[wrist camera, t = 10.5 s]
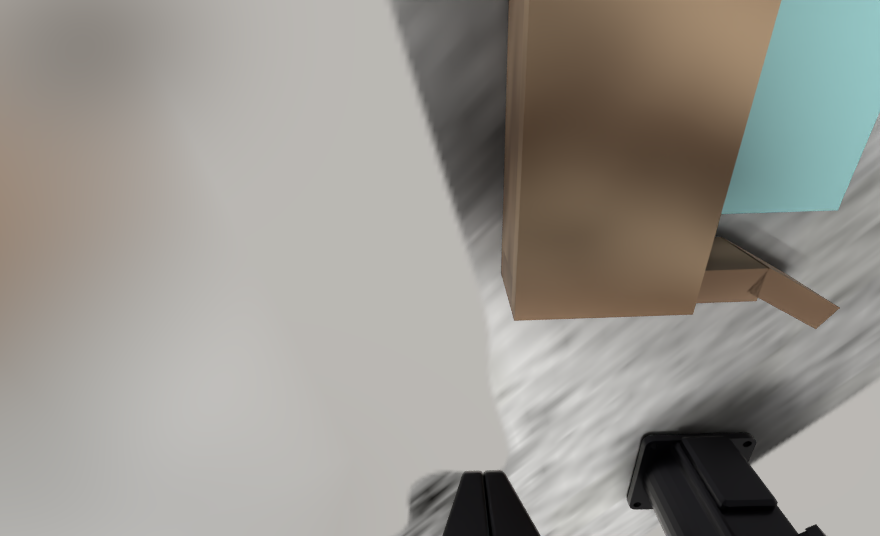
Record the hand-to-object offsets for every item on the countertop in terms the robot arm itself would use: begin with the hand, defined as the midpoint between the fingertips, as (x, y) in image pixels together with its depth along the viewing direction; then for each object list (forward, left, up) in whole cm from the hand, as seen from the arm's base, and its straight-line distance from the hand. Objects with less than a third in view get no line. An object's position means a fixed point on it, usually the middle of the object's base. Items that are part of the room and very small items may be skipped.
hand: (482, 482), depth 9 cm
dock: (+5, -9, -12) cm, 16 cm away
